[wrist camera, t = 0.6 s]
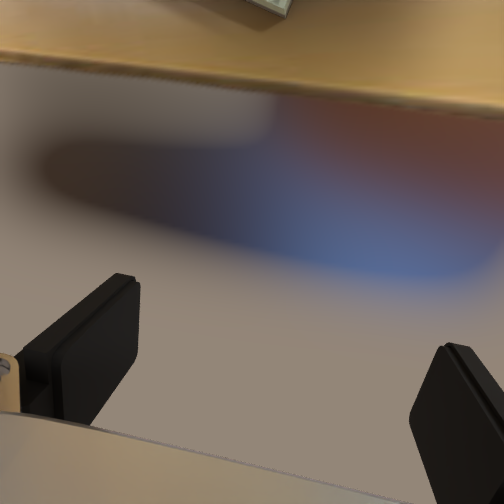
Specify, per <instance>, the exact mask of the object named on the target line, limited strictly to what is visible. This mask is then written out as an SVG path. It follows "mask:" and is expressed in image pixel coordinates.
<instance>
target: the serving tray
mask: <svg viewBox="0 0 504 504" xmlns="http://www.w3.org/2000/svg"><path fill="white" fill-rule="evenodd" d="M245 1H247V2H249V3H252V4H254V5H256V6H258V7H260V8H263V9H265V10H267V11H269V12H271V13H274V14H276V15H278V16H280V17H282V18H285V19H286V17H287V14H288V11H289V9H290V6H291V3H292V1H293V0H245Z"/></svg>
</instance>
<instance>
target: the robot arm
mask: <svg viewBox="0 0 504 504" xmlns="http://www.w3.org/2000/svg"><path fill="white" fill-rule="evenodd" d="M139 310H140V283H139V282H136V279H135V277H133V276H129V275H124V274H119V273H115V274H114V275H113V276H111V277H110V278H109V279H108V280H106V281H105V282H104V283H103V284H102V285H100V286H99V287H98V288H96V289H95V290H94V291H93V292H92V293H90V294H89V295H88V296H87V297H85V298H84V299H83V300H82V301H81V302H79V303H78V304H77V305H75V306H74V307H73V308H72V309H70V310H69V311H68V312H67V313H65V314H64V315H63V316H62V317H61V318H60V319H58V320H57V321H56V322H54V323H53V324H52V325H51V326H50V327H48V328H47V329H46V330H45V331H43V332H42V333H41V334H39V335H38V336H37V337H36V338H35V339H33V340H32V341H31V342H30V343H28V344H27V345H26V346H25V347H23V350H22V351H20V352H19V353H18V354H17V355H15V356H14V357H12V356H10V355H7V354H4V353H0V504H412V503H408V502H404V501H400V500H396V499H392V498H388V497H384V496H380V495H376V494H372V493H368V492H364V491H360V490H356V489H352V488H348V487H344V486H340V485H336V484H332V483H327V482H324V481H320V480H315V479H311V478H307V477H303V476H299V475H295V474H291V473H287V472H283V471H279V470H274V469H270V468H266V467H262V466H258V465H254V464H250V463H246V462H242V461H237V460H233V459H229V458H225V457H221V456H217V455H213V454H208V453H204V452H200V451H195V450H192V449H187V448H182V447H179V446H174V445H170V444H166V443H162V442H158V441H154V440H149V439H145V438H141V437H137V436H133V435H128V434H124V433H120V432H115V431H111V430H106V429H102V428H98V427H94V426H90V424H91V423H92V421H93V420H94V419H95V417H96V416H97V414H98V413H99V412H100V410H101V409H102V407H103V406H104V404H105V403H106V401H107V400H108V399H109V397H110V396H111V394H112V393H113V391H114V390H115V389H116V387H117V386H118V384H119V383H120V381H121V380H122V379H123V377H124V376H125V375H126V373H127V372H128V370H129V369H130V367H131V366H132V364H133V363H134V361H135V359H136V357H137V353H138V334H139ZM409 424H410V427H411V430H412V433H413V436H414V439H415V441H416V444H417V447H418V450H419V453H420V456H421V459H422V462H423V465H424V467H425V470H426V473H427V476H428V479H429V482H430V485H431V487H432V491H433V493H434V496H435V499H436V502H437V504H504V392H503V390H502V389H501V388H500V387H499V385H498V384H497V382H496V381H495V380H494V378H493V377H492V375H491V374H490V373H489V371H488V370H487V369H486V367H485V366H484V365H483V363H482V362H481V361H480V359H479V358H478V357H477V355H476V354H475V352H474V351H473V350H472V349H471V348H470V347H468V346H464V345H459V344H454V343H450V342H449V343H446V344H445V345H444V346H440V347H439V348H438V349H437V352H436V354H435V356H434V358H433V361H432V363H431V365H430V368H429V370H428V372H427V374H426V377H425V379H424V382H423V384H422V386H421V388H420V391H419V393H418V395H417V398H416V400H415V402H414V405H413V407H412V409H411V412H410V416H409Z"/></svg>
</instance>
